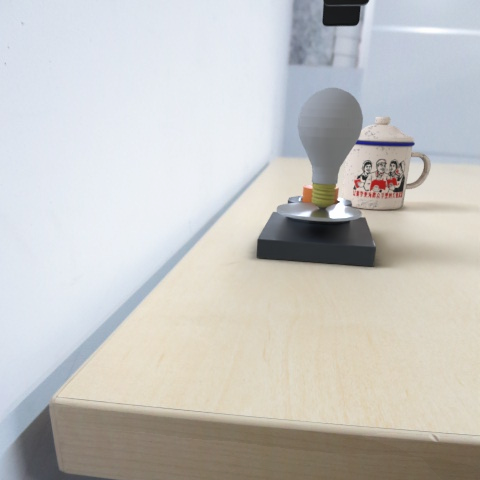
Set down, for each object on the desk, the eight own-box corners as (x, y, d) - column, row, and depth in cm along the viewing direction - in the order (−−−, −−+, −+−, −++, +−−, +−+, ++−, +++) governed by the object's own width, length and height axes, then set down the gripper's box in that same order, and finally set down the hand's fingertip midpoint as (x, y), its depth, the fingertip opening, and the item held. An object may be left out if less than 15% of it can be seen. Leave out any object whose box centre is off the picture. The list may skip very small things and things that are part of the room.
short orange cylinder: (302, 200, 53) (304, 183, 53) (336, 202, 53) (338, 185, 52) (301, 206, 50) (302, 188, 49) (337, 208, 49) (339, 190, 49)
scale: (273, 224, 56) (274, 193, 55) (362, 230, 55) (366, 198, 53) (256, 258, 43) (258, 218, 42) (373, 266, 42) (379, 225, 40)
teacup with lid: (346, 209, 66) (357, 115, 62) (333, 198, 75) (342, 115, 70) (435, 212, 67) (452, 119, 62) (412, 200, 75) (425, 118, 71)
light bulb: (319, 201, 49) (329, 89, 45) (364, 210, 45) (380, 88, 41) (279, 206, 45) (286, 86, 41) (324, 216, 42) (337, 85, 38)
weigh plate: (336, 204, 49) (336, 201, 49) (378, 219, 43) (378, 216, 42) (264, 206, 47) (264, 203, 47) (296, 223, 40) (297, 219, 40)
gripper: (462, -423, 24) (410, -7, 31) (405, -214, 40) (379, 31, 47) (307, -405, 25) (289, -5, 32) (311, -207, 41) (299, 32, 47)
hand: (342, 16), depth 39 cm, fingers open, 9 cm apart
